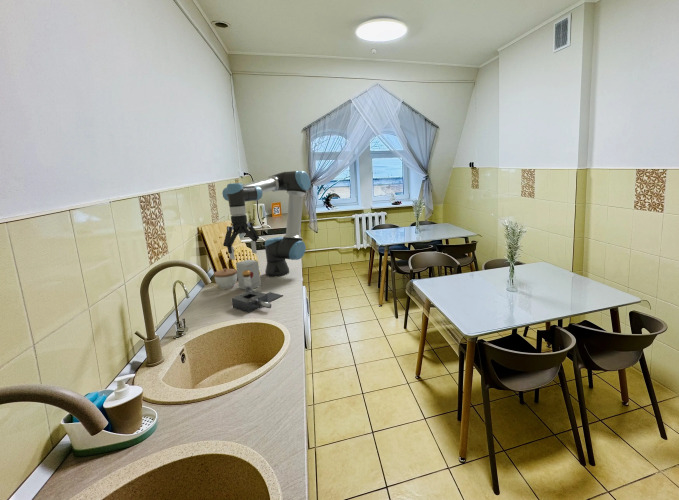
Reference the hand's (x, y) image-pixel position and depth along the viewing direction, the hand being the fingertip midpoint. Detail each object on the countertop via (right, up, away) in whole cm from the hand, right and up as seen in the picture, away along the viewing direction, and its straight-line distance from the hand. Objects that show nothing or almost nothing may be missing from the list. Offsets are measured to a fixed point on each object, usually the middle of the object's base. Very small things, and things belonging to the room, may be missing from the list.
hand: (243, 256), depth 166 cm
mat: (+13, -21, +2) cm, 25 cm away
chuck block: (+9, -24, -10) cm, 28 cm away
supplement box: (-2, -18, +20) cm, 27 cm away
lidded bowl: (-16, -18, +23) cm, 34 cm away
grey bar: (+1, -21, +5) cm, 22 cm away
